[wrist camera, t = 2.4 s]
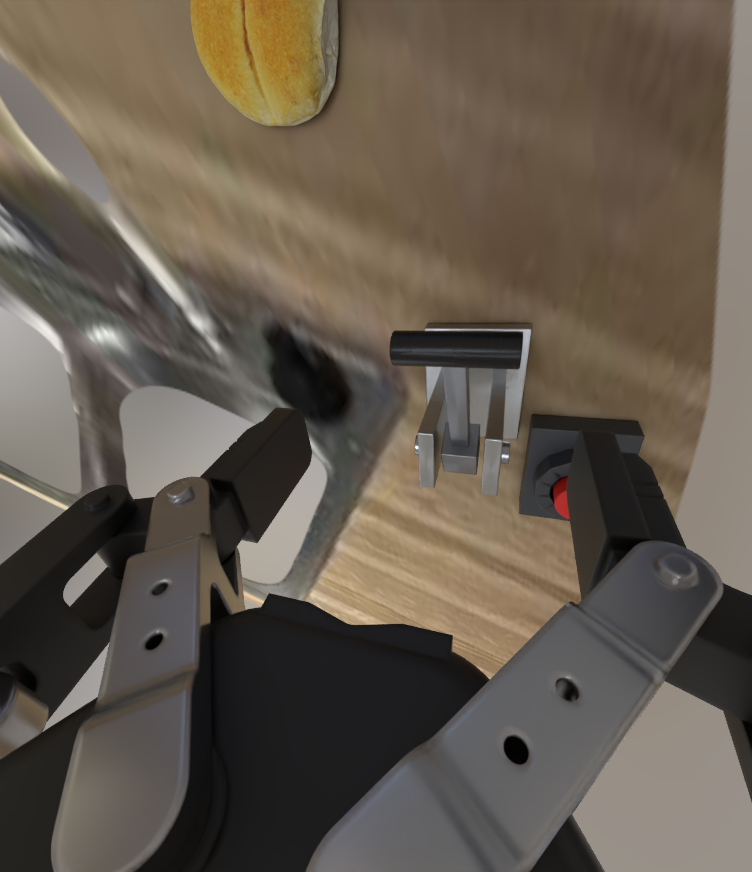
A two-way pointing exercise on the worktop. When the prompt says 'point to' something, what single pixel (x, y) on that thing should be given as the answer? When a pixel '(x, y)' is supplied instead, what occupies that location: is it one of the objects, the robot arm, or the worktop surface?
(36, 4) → the worktop surface
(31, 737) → the robot arm
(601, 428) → the button block
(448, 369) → the press lever
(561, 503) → the button
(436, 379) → the lever bracket
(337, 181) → the worktop surface
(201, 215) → the worktop surface
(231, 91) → the bread roll
